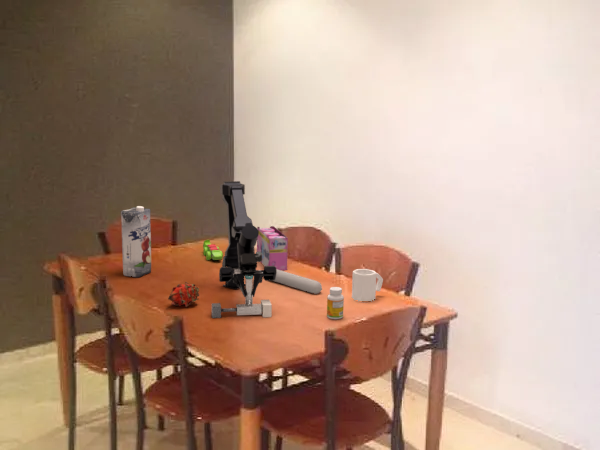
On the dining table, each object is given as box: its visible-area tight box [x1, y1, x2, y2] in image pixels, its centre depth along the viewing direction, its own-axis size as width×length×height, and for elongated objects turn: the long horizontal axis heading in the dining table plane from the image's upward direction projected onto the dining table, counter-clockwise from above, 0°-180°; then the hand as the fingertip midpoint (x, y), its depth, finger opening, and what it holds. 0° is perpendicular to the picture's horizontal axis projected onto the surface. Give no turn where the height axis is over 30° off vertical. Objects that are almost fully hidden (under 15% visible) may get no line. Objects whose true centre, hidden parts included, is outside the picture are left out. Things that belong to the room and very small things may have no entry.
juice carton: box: [120, 205, 152, 278], centre depth 288 cm, size 9×10×27 cm
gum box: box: [256, 225, 289, 271], centre depth 310 cm, size 24×8×14 cm, turn 17°
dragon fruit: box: [168, 281, 200, 308], centre depth 253 cm, size 8×8×12 cm
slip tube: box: [235, 274, 262, 316], centre depth 244 cm, size 8×3×13 cm, turn 100°
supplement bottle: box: [326, 286, 345, 320], centre depth 244 cm, size 5×5×10 cm
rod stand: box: [211, 302, 237, 319], centre depth 244 cm, size 12×4×4 cm, turn 100°
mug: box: [351, 268, 384, 302], centre depth 266 cm, size 12×9×10 cm
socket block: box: [260, 299, 273, 318], centre depth 246 cm, size 3×6×4 cm, turn 10°
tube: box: [273, 269, 323, 295], centre depth 278 cm, size 5×5×25 cm
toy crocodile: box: [202, 239, 224, 261], centre depth 318 cm, size 20×7×6 cm, turn 17°
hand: (249, 296), depth 243 cm, fingers closed on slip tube, 2 cm apart
